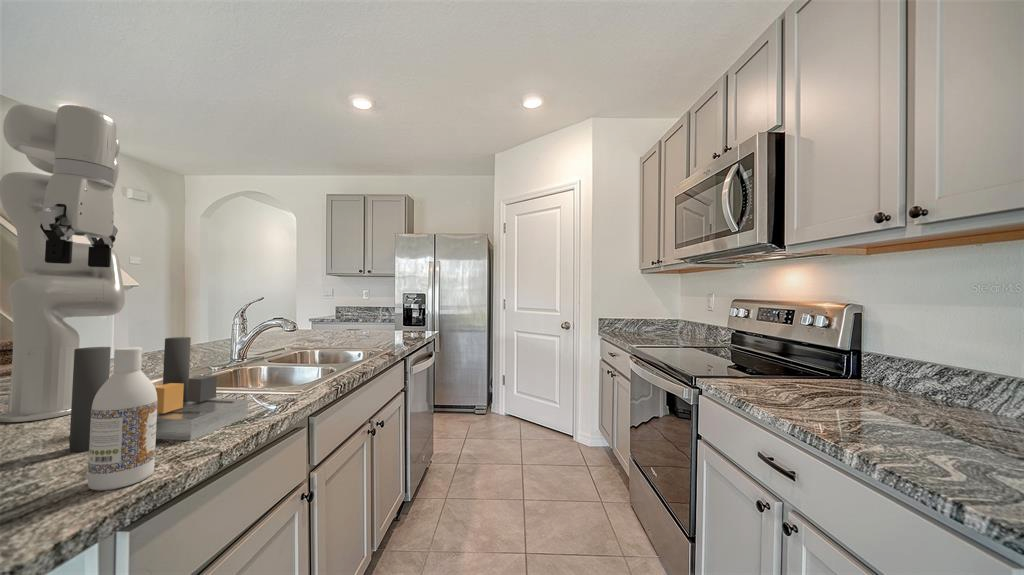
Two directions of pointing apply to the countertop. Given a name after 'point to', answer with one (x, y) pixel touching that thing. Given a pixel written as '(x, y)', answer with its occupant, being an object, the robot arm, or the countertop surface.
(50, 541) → the countertop surface
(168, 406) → the tab orange
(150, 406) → the bath foam
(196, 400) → the grey small block
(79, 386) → the post
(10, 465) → the countertop surface
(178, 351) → the post
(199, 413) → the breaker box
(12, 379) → the robot arm
